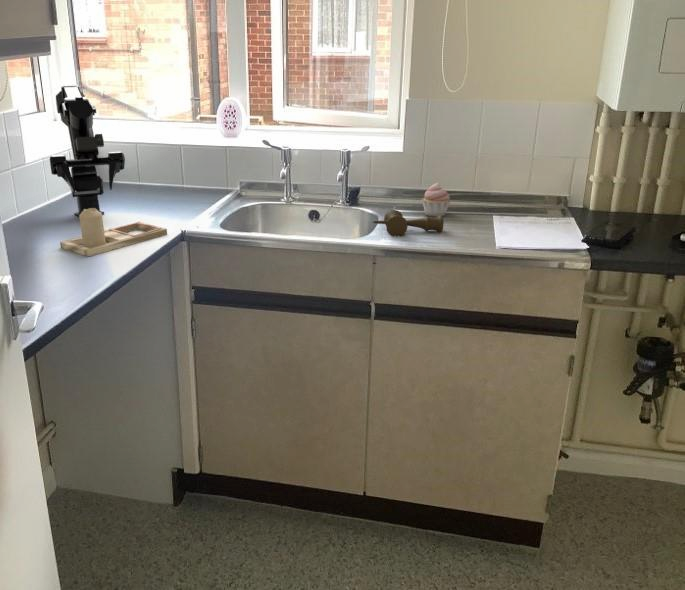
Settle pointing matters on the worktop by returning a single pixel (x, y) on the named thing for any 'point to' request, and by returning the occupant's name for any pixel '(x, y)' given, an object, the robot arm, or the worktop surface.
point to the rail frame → (115, 238)
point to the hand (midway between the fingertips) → (93, 190)
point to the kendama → (409, 223)
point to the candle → (92, 228)
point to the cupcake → (436, 201)
